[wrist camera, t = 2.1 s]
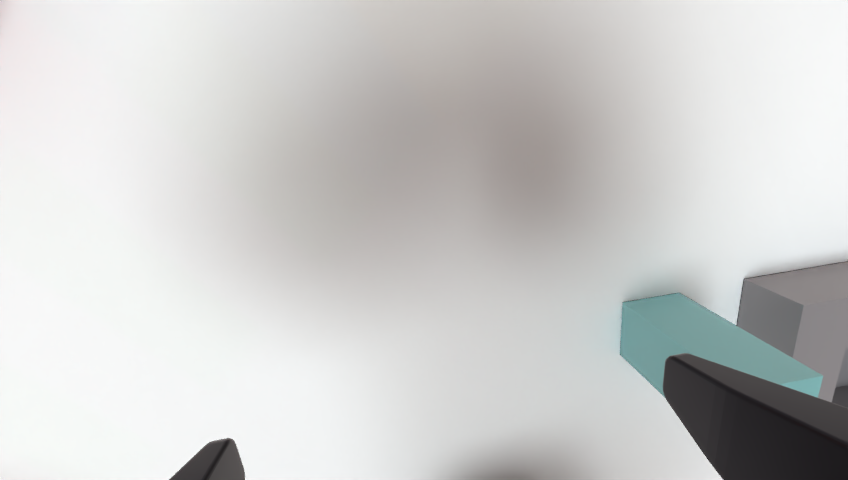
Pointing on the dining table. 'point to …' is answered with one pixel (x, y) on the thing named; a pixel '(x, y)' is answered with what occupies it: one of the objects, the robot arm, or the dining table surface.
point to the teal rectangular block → (702, 343)
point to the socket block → (804, 321)
